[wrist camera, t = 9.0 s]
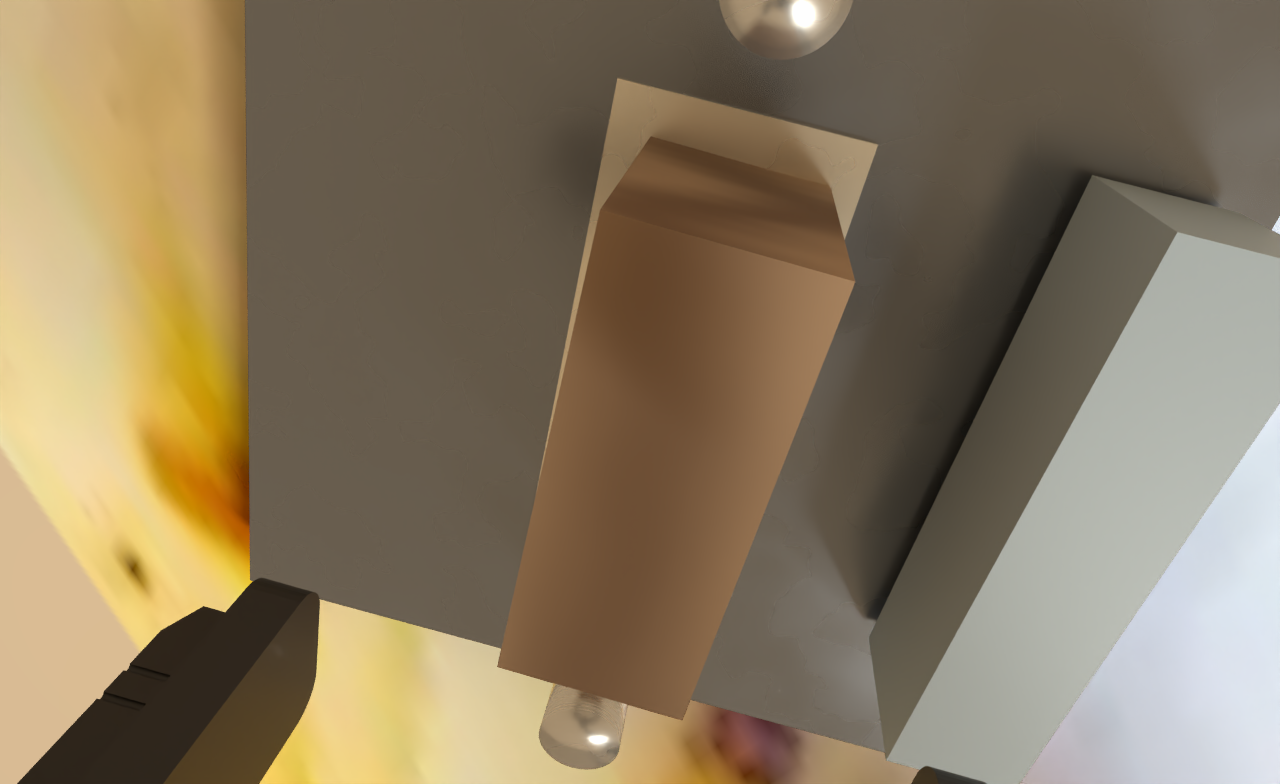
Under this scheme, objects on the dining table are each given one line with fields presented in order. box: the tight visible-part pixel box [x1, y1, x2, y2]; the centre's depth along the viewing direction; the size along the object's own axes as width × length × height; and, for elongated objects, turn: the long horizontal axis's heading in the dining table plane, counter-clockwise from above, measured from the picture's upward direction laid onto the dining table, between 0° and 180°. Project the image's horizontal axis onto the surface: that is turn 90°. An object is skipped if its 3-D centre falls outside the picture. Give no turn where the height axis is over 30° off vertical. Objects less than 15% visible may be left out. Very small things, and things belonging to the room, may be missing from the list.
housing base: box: [245, 0, 1280, 769], centre depth 19 cm, size 22×22×6 cm
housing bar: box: [869, 175, 1280, 784], centre depth 18 cm, size 3×13×4 cm, turn 168°
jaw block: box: [497, 136, 855, 720], centre depth 18 cm, size 4×10×6 cm, turn 166°
